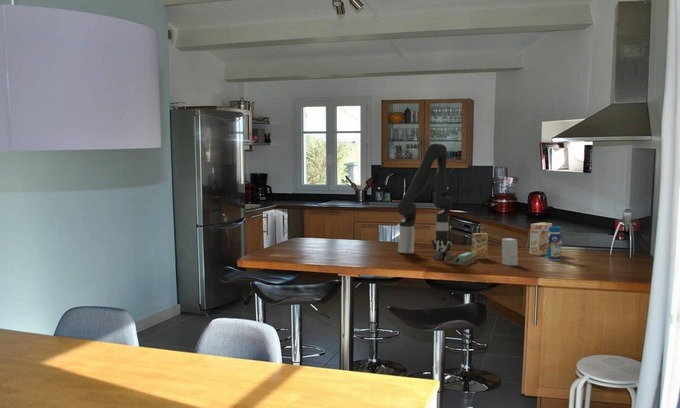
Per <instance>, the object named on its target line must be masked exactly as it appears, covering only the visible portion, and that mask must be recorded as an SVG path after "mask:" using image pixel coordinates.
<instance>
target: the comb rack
mask: <svg viewBox="0 0 680 408" xmlns="http://www.w3.org/2000/svg"><path fill="white" fill-rule="evenodd" d="M443 260H444V261H443V264H447V265H449V264H450V265H454V266H455V265H456V266H466V267H467V266H469V265H471V264H474V263H477V261H478V259H477V255H474V256H471V257H469V258H467V259H464V263H462V262H459V256H458V252H454V253H453V254H449V256H447V257H444V258H443Z"/></svg>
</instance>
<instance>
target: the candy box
mask: <svg viewBox="0 0 680 408" xmlns="http://www.w3.org/2000/svg"><path fill="white" fill-rule="evenodd" d="M488 237H489V235H488V233H486V232H478V233H477V232H476V233H473V232H472V233H471V253H472V256H474V255H477V260H481V259H482V260H483V259H484V260H485V259H488V242H489V241H488V240H489V239H488Z"/></svg>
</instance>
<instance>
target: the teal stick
mask: <svg viewBox="0 0 680 408" xmlns="http://www.w3.org/2000/svg"><path fill="white" fill-rule="evenodd" d="M471 256H472V252H468V251H467V252H463V253H461V254H459V255H458V257H459V262H462V263H464V259H467V258H469V257H471Z"/></svg>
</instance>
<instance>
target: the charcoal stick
mask: <svg viewBox="0 0 680 408" xmlns="http://www.w3.org/2000/svg"><path fill="white" fill-rule="evenodd" d="M449 255H450V251H447V255H446V257H447V256H449ZM433 260H435V261H441V260H444V258H443V249H440V251H438V252H437V251H435V252H433Z"/></svg>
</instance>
